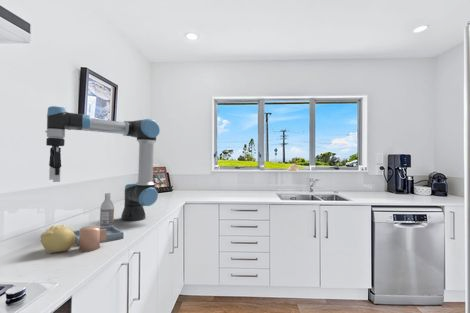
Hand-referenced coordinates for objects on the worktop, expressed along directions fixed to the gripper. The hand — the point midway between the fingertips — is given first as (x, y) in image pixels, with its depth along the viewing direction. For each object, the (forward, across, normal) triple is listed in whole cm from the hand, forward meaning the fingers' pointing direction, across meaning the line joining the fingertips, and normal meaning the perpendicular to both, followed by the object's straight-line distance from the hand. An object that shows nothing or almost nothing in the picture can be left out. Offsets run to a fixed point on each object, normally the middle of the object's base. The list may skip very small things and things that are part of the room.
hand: (54, 180), depth 136 cm
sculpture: (+28, +23, -1) cm, 37 cm away
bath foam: (+28, -2, +26) cm, 38 cm away
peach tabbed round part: (+28, +28, +12) cm, 41 cm away
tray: (+28, +14, +17) cm, 36 cm away
